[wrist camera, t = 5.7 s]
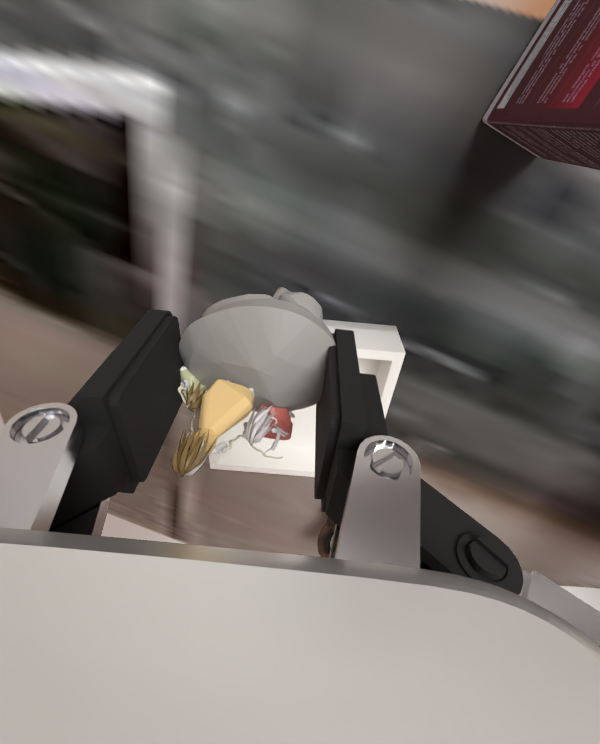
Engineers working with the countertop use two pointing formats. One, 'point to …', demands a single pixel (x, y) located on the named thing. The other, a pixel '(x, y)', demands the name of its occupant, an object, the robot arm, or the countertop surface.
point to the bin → (375, 356)
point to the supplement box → (556, 88)
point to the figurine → (250, 370)
